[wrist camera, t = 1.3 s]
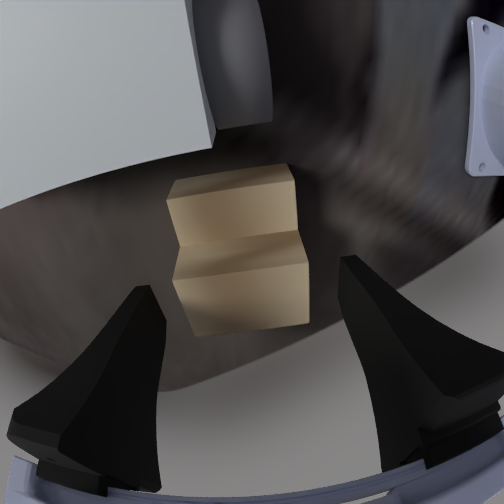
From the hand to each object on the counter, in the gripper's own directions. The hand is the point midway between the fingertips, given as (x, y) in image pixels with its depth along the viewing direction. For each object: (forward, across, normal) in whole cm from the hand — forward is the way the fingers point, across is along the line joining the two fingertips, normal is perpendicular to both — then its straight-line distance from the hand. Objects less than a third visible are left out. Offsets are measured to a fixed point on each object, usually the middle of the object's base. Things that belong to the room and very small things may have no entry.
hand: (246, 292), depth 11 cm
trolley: (+3, +5, -12) cm, 14 cm away
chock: (+3, 0, -1) cm, 3 cm away
